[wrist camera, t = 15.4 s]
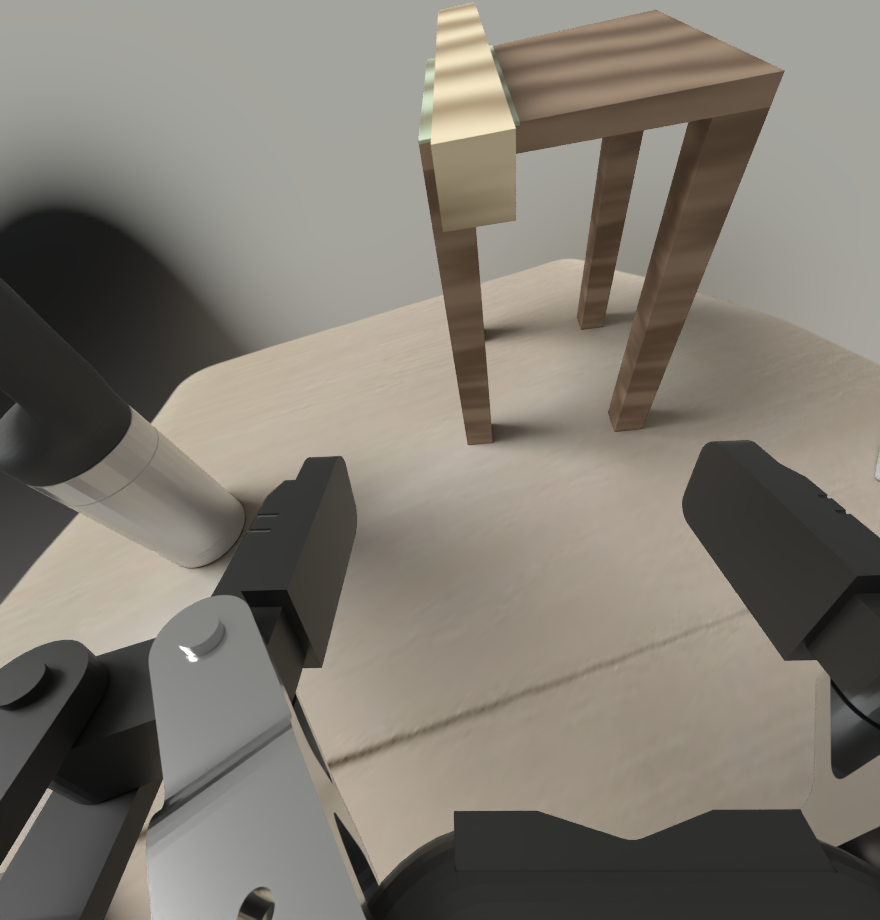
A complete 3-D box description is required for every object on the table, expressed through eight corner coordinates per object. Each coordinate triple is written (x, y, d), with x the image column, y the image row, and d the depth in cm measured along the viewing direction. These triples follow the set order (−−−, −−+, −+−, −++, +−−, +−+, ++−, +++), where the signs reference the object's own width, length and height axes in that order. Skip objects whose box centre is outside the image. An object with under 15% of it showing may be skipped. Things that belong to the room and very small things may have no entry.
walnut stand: (642, 428, 45) (785, 69, 21) (467, 444, 48) (418, 140, 24) (598, 314, 58) (656, 8, 34) (462, 331, 61) (427, 59, 37)
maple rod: (515, 220, 16) (515, 128, 14) (443, 232, 16) (430, 144, 14) (477, 53, 35) (474, 2, 32) (443, 60, 35) (438, 10, 33)
